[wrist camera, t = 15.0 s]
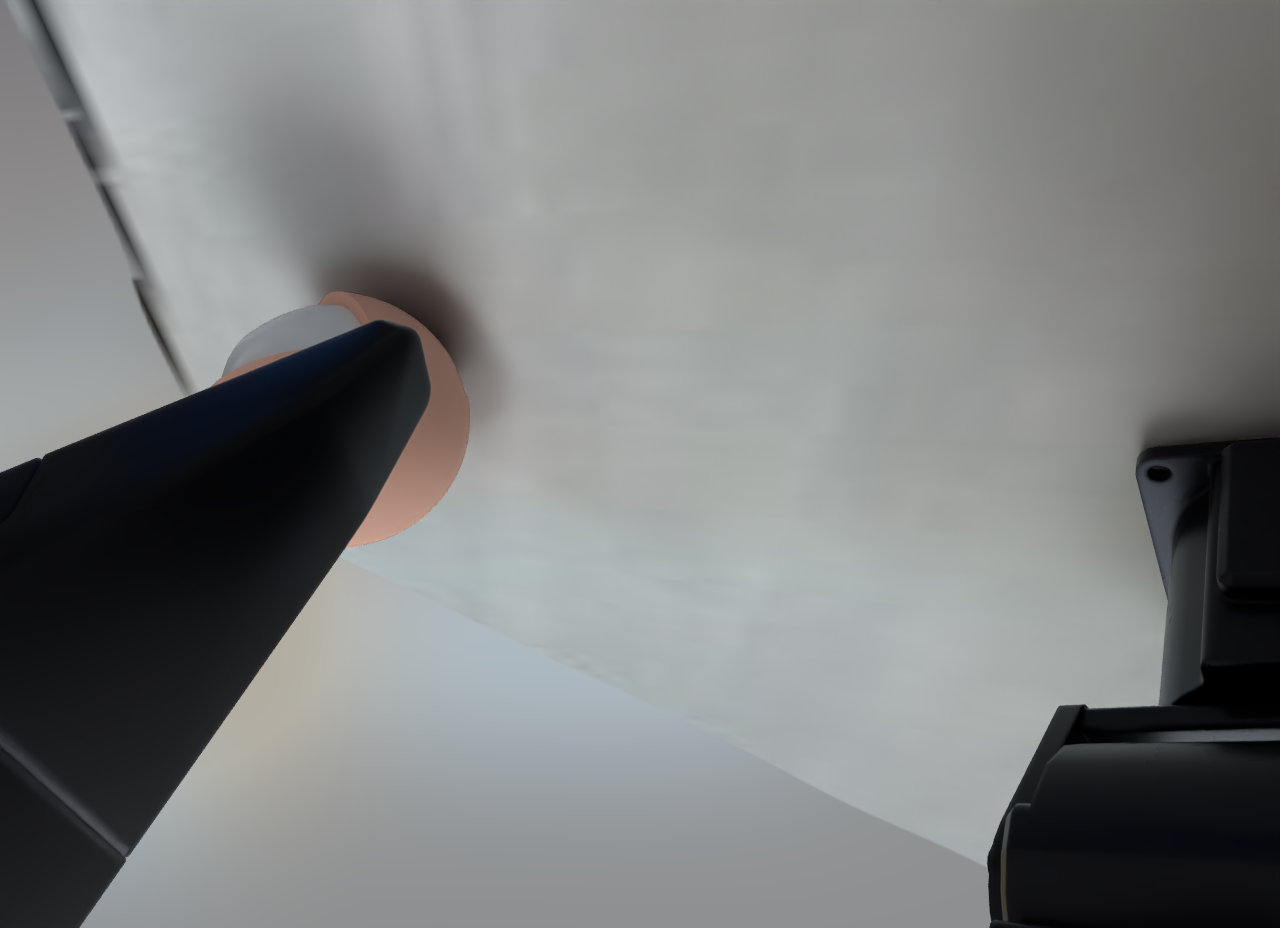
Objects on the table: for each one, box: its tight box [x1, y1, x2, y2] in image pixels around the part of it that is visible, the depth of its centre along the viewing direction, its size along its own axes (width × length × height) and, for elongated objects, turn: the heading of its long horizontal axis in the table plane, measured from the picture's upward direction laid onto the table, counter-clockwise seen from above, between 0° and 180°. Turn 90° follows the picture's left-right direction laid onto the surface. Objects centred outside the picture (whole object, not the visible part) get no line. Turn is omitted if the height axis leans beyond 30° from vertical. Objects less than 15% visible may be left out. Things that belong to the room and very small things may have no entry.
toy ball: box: [211, 291, 470, 547], centre depth 29 cm, size 8×8×8 cm
